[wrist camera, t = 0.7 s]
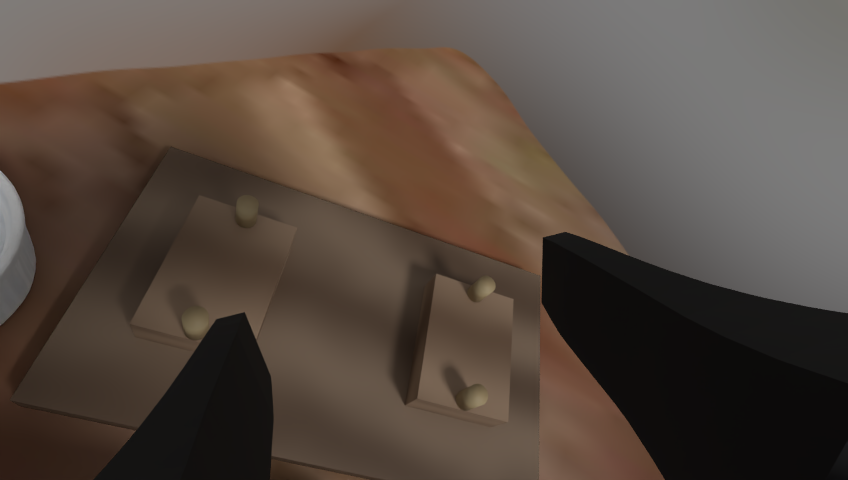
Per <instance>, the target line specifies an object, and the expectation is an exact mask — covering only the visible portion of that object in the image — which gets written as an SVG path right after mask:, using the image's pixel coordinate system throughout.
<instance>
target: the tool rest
mask: <svg viewBox="0 0 848 480" xmlns="http://www.w3.org/2000/svg"><path fill="white" fill-rule="evenodd" d="M243 312H245V314H246V316H247V319H248V321H249V324H250V326H251V329H252V331H253V333H254V336H255V338H256V341H257V343H258V346H259V348H260V351H261V353H262V356H263V358H264V360H265V363H266V365H267V368H268V370H269V373H270V375H271V381H272V395H273V413H274V423H273V439H272V455H271V459H275V460H279V461H284V462H289V463H294V464H298V465H303V466H308V467H313V468H317V469H322V470H327V471H332V472H336V473H341V474H346V475H351V476H355V477H360V478H365V479H370V480H539V390H540V276H539V275H536V274H534V273H531V272H528V271H525V270H522V269H519V268H516V267H514V266H511V265H508V264H505V263H502V262H499V261H496V260H494V259H491V258H488V257H485V256H482V255H479V254H476V253H473V252H471V251H468V250H465V249H462V248H459V247H456V246H453V245H451V244H448V243H445V242H442V241H439V240H436V239H433V238H431V237H428V236H425V235H422V234H419V233H416V232H413V231H411V230H408V229H405V228H402V227H399V226H396V225H393V224H391V223H388V222H385V221H382V220H379V219H376V218H373V217H371V216H368V215H365V214H362V213H359V212H356V211H353V210H351V209H348V208H345V207H342V206H339V205H336V204H333V203H331V202H328V201H325V200H322V199H319V198H316V197H313V196H311V195H308V194H305V193H302V192H299V191H296V190H293V189H291V188H288V187H285V186H282V185H279V184H276V183H273V182H270V181H268V180H265V179H262V178H259V177H256V176H253V175H250V174H248V173H245V172H242V171H239V170H236V169H233V168H230V167H228V166H225V165H222V164H219V163H216V162H213V161H210V160H208V159H205V158H202V157H199V156H196V155H193V154H190V153H188V152H185V151H182V150H179V149H176V148H173V147H170V149H169V150H168V152H167V153H166V155H165V156H164V158H163V160H162V161H161V163H160V164H159V166H158V167H157V169H156V171H155V172H154V174H153V175H152V177H151V178H150V180H149V182H148V183H147V185H146V186H145V188H144V189H143V191H142V193H141V194H140V196H139V197H138V199H137V201H136V202H135V204H134V205H133V207H132V208H131V210H130V212H129V213H128V215H127V216H126V218H125V219H124V221H123V223H122V224H121V226H120V227H119V229H118V230H117V232H116V234H115V235H114V237H113V238H112V240H111V241H110V243H109V245H108V246H107V248H106V249H105V251H104V252H103V254H102V256H101V257H100V259H99V260H98V262H97V264H96V265H95V267H94V268H93V270H92V271H91V273H90V275H89V276H88V278H87V279H86V281H85V282H84V284H83V286H82V287H81V289H80V290H79V292H78V293H77V295H76V297H75V298H74V300H73V301H72V303H71V304H70V306H69V308H68V309H67V311H66V312H65V314H64V315H63V317H62V319H61V320H60V322H59V323H58V325H57V327H56V328H55V330H54V331H53V333H52V334H51V336H50V338H49V339H48V341H47V342H46V344H45V345H44V347H43V349H42V350H41V352H40V353H39V355H38V356H37V358H36V360H35V361H34V363H33V364H32V366H31V367H30V369H29V371H28V372H27V374H26V375H25V377H24V378H23V380H22V382H21V383H20V385H19V386H18V388H17V390H16V391H15V393H14V394H13V396H12V397H11V399H10V401H12V402H14V403H16V404H17V405H19V406H23V407H27V408H32V409H37V410H42V411H46V412H51V413H56V414H61V415H65V416H70V417H75V418H80V419H84V420H89V421H94V422H99V423H103V424H108V425H113V426H118V427H122V428H127V429H132V430H137V429H138V428H139V426H140V425H141V424H142V423H143V421H144V420H145V419H146V417H147V416H148V415H149V414H150V412H151V411H152V410H153V408H154V407H155V406H156V405H157V403H158V402H159V401H160V399H161V398H162V397H163V395H164V394H165V393H166V391H167V390H168V389H169V387H170V386H171V384H172V383H173V381H174V380H175V379H176V377H177V376H178V374H179V373H180V372H181V370H182V369H183V367H184V366H185V364H186V363H187V361H188V360H189V358H190V357H191V356H192V354H193V353H194V351H195V350H196V348H197V347H198V345H199V344H200V342H201V341H202V339H203V338H204V336H205V335H206V333H207V332H208V330H209V329H210V328H211V326H212V325H213V323H214V322H215V320H216V319H219V318H223V317H227V316H231V315H235V314H239V313H243Z"/></svg>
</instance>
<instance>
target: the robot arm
mask: <svg viewBox="0 0 848 480" xmlns="http://www.w3.org/2000/svg"><path fill="white" fill-rule="evenodd" d="M542 304H543V306H544V308H545V309H546V311H547V313H548V315H549V317H550V318H551V320H552V322H553V323H554V325H555V327H556V328H557V330H558V332H559V333H560V335H561V336H562V337H563V339H564V340H565V341H566V343H567V344H568V345H569V347H570V348H571V349H572V350H573V352H574V353H575V354H576V355H577V357H578V358H579V359H580V361H581V362H582V363H583V364H584V366H585V367H586V368H587V369H588V370H589V372H590V373H591V374H592V375H593V377H594V378H595V379H596V380H597V382H598V383H599V384H600V385H601V387H602V388H603V389H604V390H605V392H606V393H607V394H608V395H609V397H610V398H611V399H612V400H613V402H614V403H615V404H616V406H617V407H618V408H619V410H620V411H621V412H622V414H623V415H624V416H625V418H626V419H627V421H628V422H629V423H630V425H631V427H632V428H633V430H634V431H635V433H636V434H637V436H638V437H639V439H640V440H641V442H642V444H643V445H644V447H645V448H646V450H647V451H648V453H649V454H650V456H651V458H652V459H653V461H654V462H655V464H656V466H657V467H658V469H659V471H660V472H661V474H662V475H663V477H664V479H665V480H848V313H841V312H835V311H829V310H823V309H817V308H811V307H806V306H801V305H796V304H791V303H786V302H781V301H776V300H771V299H767V298H762V297H758V296H754V295H750V294H746V293H742V292H738V291H735V290H731V289H727V288H723V287H719V286H716V285H712V284H708V283H705V282H702V281H699V280H696V279H693V278H689V277H686V276H684V275H680V274H677V273H674V272H671V271H668V270H666V269H663V268H660V267H657V266H655V265H652V264H649V263H646V262H644V261H641V260H638V259H636V258H633V257H631V256H628V255H626V254H623V253H620V252H618V251H615V250H613V249H610V248H608V247H605V246H603V245H600V244H598V243H595V242H593V241H590V240H587V239H585V238H582V237H579V236H576V235H574V234H570V233H567V232H564V233H559V234H555V235H551V236H547V237H543V259H542ZM273 423H274V413H273V395H272V381H271V375H270V373H269V370H268V368H267V365H266V363H265V360H264V358H263V356H262V353H261V351H260V348H259V346H258V343H257V341H256V338H255V336H254V333H253V331H252V329H251V326H250V324H249V321H248V319H247V316H246V314H245V312H243V313H239V314H235V315H231V316H227V317H223V318H219V319H216V320H215V322H214V323H213V325H212V326H211V328H210V329H209V330H208V332H207V333H206V335H205V336H204V338H203V339H202V341H201V342H200V344H199V345H198V347H197V348H196V350H195V351H194V353H193V354H192V356H191V357H190V358H189V360H188V361H187V363H186V364H185V366H184V367H183V369H182V370H181V372H180V373H179V374H178V376H177V377H176V379H175V380H174V381H173V383H172V384H171V386H170V387H169V389H168V390H167V391H166V393H165V394H164V395H163V397H162V398H161V399H160V401H159V402H158V403H157V405H156V406H155V407H154V408H153V410H152V411H151V412H150V414H149V415H148V416H147V417H146V419H145V420H144V421H143V423H142V424H141V425H140V426H139V428H138V429H137V430H136V432H135V433H134V434H133V435H132V437H131V438H130V439H129V440H128V441H127V443H126V444H125V445H124V446H123V447H122V448H121V450H120V451H119V452H118V453H117V454H116V455H115V457H114V458H113V459H112V460H111V461H110V462H109V463H108V464H107V465H106V466H105V468H104V469H103V470H102V471H101V472H100V473H99V474H98V475H97V476H96V477H95V479H94V480H270V468H271V455H272V439H273Z"/></svg>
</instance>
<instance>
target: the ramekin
mask: <svg viewBox="0 0 848 480" xmlns="http://www.w3.org/2000/svg"><path fill="white" fill-rule="evenodd" d="M35 271H36V256H35V251H34V246H33V243H32V241H31V238H30V235H29V233H28V230H27V228H26V224H25V215H24V209H23V205H22V202H21V200H20V197H19V195H18V193H17V191H16V189H15V187H14V186H13V184H12V183H11V182H10V180H9V179H8V178H7V177H6V176H5V175H4V174H3V173H2V172H1V171H0V325H2V324H3V323H4V322H5V321H6V320H7V319H8V318H9V317H10V316H11V315H12V314H13V313H14V312H15V311H16V309H17V308H18V307H19V306H20V305H21V304H22V302H23V301H24V299H25V298H26V296H27V294H28V293H29V291H30V288H31V286H32V283H33V280H34V275H35Z"/></svg>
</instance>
